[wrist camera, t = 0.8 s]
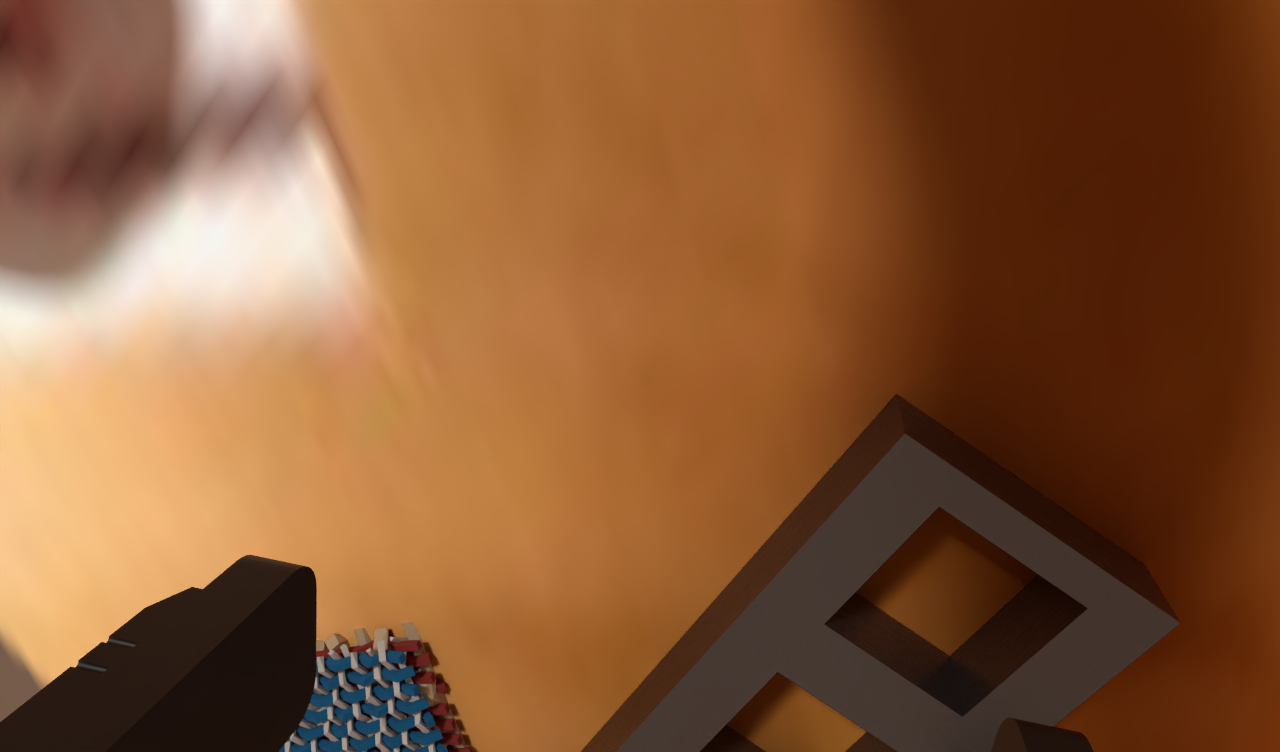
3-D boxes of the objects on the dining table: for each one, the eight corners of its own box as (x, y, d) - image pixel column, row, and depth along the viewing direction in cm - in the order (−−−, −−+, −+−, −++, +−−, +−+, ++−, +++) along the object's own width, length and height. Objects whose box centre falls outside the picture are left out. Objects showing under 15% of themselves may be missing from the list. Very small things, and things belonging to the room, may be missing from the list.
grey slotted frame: (896, 394, 28) (905, 433, 25) (1145, 566, 28) (1180, 623, 26) (532, 805, 38) (510, 866, 35) (724, 928, 38) (717, 998, 35)
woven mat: (510, 807, 39) (494, 846, 37) (307, 820, 41) (283, 857, 40) (427, 610, 35) (406, 642, 34) (214, 639, 38) (183, 670, 36)
